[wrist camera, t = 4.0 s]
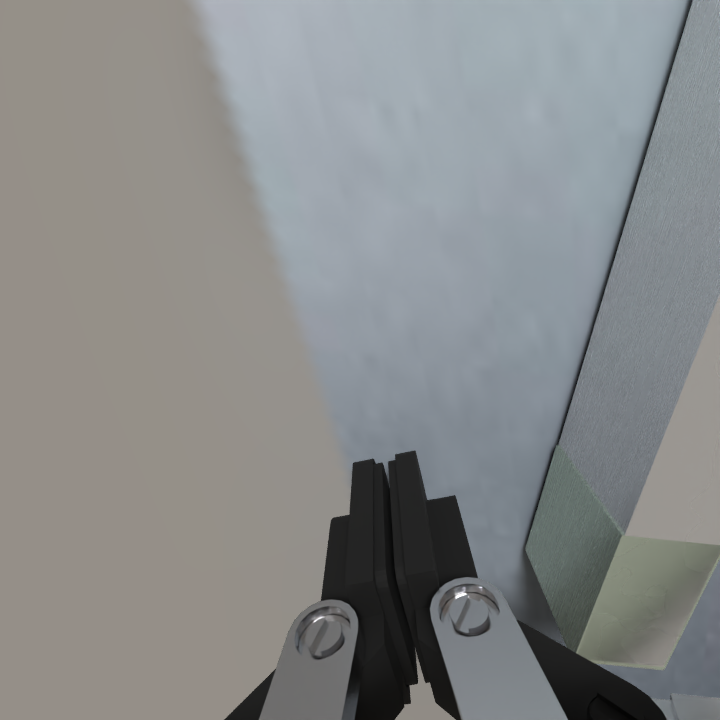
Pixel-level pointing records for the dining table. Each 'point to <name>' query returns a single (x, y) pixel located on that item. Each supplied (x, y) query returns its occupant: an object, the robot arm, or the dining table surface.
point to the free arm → (647, 399)
